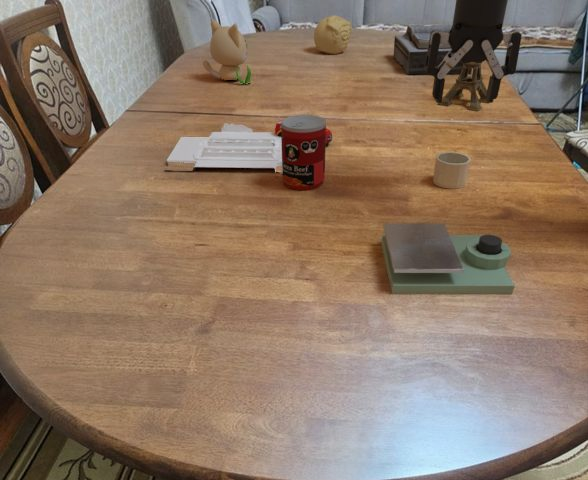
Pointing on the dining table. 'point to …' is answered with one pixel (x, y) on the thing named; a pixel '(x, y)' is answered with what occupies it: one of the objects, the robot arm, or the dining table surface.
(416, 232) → the platform
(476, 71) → the eiffel tower
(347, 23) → the sculpture
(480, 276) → the scale
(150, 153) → the dining table surface
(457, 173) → the cup
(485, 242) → the tare button
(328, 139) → the race car
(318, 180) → the canned food
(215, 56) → the kitten
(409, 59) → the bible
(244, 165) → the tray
